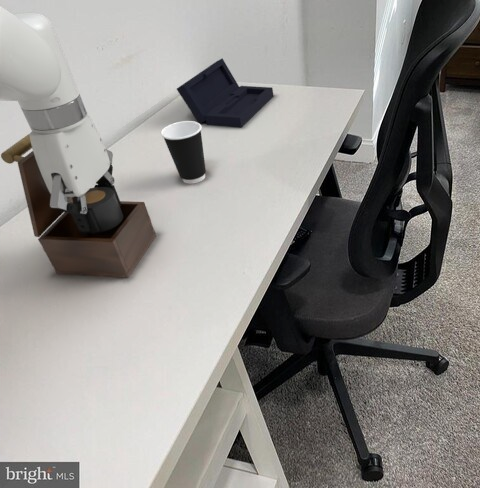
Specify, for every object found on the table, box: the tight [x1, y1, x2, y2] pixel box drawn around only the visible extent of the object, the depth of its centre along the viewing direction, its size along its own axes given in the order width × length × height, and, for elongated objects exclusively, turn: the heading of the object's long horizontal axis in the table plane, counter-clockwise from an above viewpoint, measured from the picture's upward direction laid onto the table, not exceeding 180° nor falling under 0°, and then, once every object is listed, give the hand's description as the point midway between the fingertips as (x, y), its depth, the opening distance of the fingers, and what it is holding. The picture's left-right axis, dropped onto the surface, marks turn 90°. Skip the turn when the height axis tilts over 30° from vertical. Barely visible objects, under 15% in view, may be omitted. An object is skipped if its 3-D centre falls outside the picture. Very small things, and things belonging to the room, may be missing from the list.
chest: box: [38, 200, 157, 279], centre depth 80 cm, size 13×11×7 cm
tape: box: [73, 186, 123, 233], centre depth 76 cm, size 6×6×5 cm
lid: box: [0, 133, 74, 238], centre depth 74 cm, size 13×11×5 cm
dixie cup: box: [160, 120, 207, 185], centre depth 98 cm, size 8×8×11 cm
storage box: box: [176, 57, 274, 128], centre depth 127 cm, size 21×16×10 cm
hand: (101, 217), depth 77 cm, fingers closed on tape, 6 cm apart
